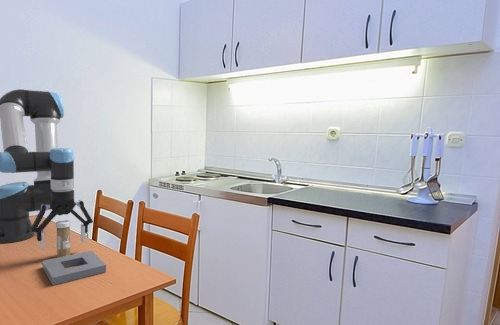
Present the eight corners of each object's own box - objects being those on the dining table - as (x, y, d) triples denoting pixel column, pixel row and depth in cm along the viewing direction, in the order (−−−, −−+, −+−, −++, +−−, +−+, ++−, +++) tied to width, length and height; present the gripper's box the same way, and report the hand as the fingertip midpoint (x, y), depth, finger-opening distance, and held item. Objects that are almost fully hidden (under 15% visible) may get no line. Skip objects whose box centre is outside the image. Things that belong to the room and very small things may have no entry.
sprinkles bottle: (70, 257, 122) (69, 222, 121) (56, 259, 120) (55, 223, 119) (71, 253, 126) (70, 219, 125) (57, 254, 124) (56, 220, 123)
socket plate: (42, 267, 113) (42, 260, 112) (91, 256, 123) (91, 250, 123) (52, 285, 101) (52, 277, 100) (106, 271, 111) (106, 264, 111)
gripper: (23, 195, 109) (25, 255, 112) (101, 188, 126) (101, 241, 128) (20, 191, 115) (22, 249, 117) (95, 185, 131) (95, 236, 134)
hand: (63, 245), depth 123 cm, fingers open, 13 cm apart
